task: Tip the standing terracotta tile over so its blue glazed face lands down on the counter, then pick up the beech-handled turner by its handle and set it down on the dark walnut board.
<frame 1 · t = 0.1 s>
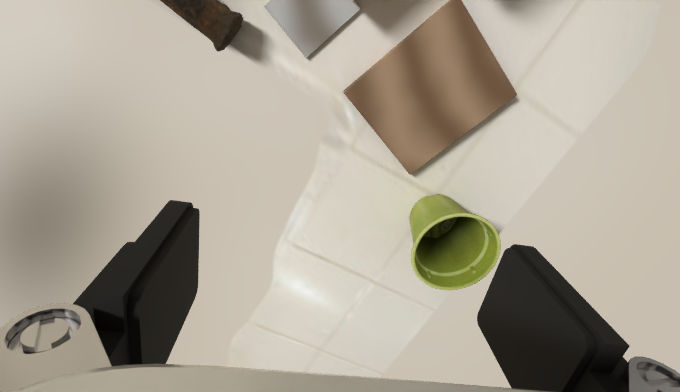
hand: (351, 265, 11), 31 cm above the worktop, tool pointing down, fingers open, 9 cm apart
plant pot: (432, 214, 47), on the worktop
board: (428, 91, 40), on the worktop
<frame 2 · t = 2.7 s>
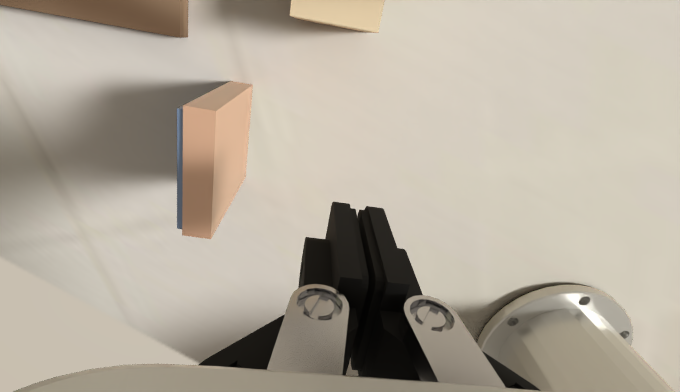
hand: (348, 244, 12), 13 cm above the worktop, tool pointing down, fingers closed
tile: (236, 131, 23), on the worktop
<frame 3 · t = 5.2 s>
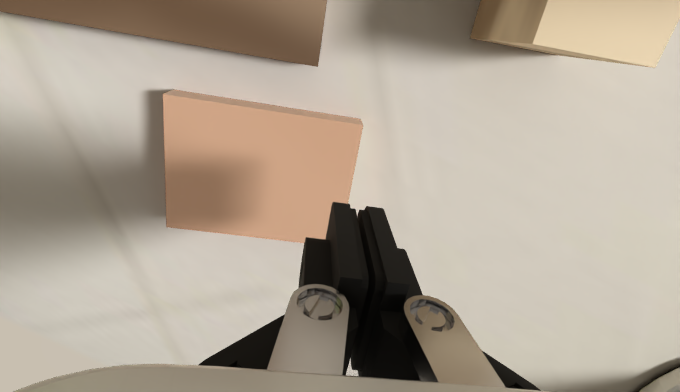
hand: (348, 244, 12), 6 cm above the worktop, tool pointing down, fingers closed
tile: (349, 183, 17), on the worktop, tilted 90°
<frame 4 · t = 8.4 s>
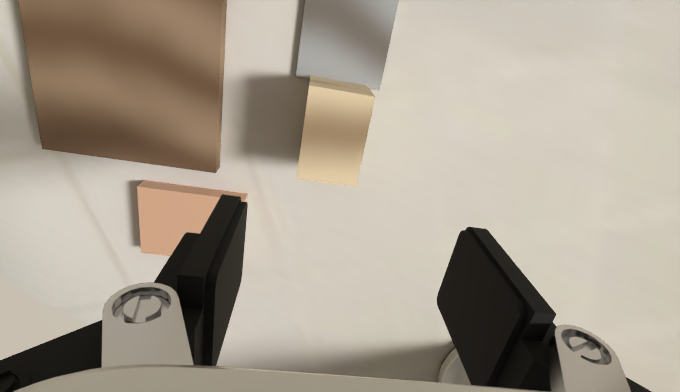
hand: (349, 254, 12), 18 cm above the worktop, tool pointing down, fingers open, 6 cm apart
tile: (244, 228, 31), on the worktop, tilted 90°
board: (133, 59, 25), on the worktop
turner: (331, 120, 28), on the worktop
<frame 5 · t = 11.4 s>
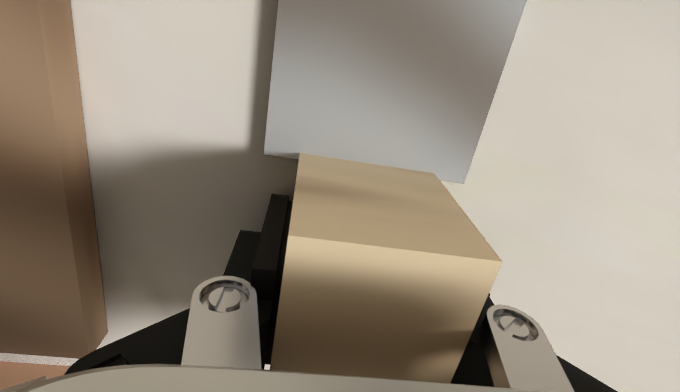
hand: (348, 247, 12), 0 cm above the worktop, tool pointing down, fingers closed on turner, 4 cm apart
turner: (348, 241, 12), on the worktop, touching gripper
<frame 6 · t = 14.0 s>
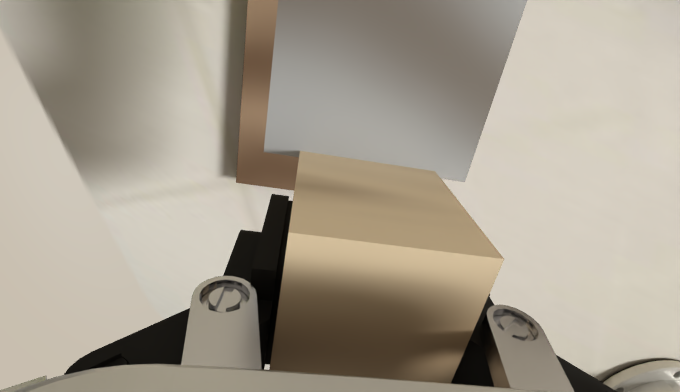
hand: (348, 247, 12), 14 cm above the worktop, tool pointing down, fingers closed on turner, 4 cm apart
board: (342, 88, 24), on the worktop
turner: (348, 240, 12), point 14 cm above the worktop, touching gripper
when the fingers open (3 cm above the worktop, at t = 16.6 s): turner drops 1 cm, resting on board.
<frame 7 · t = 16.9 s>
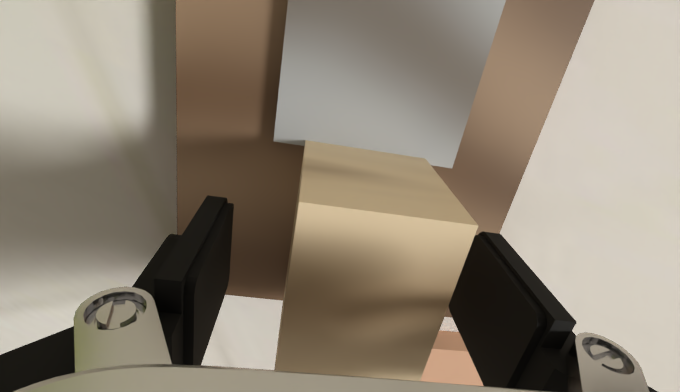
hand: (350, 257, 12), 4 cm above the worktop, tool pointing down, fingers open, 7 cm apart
tile: (474, 384, 19), on the worktop, tilted 90°
board: (357, 133, 14), on the worktop
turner: (348, 221, 14), point 1 cm above the worktop, touching board
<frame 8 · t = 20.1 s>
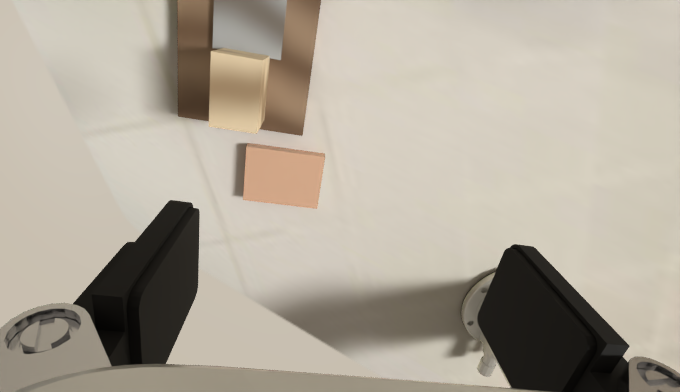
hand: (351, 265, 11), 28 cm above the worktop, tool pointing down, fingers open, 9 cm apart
tile: (320, 180, 40), on the worktop, tilted 90°
board: (248, 50, 35), on the worktop
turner: (245, 85, 35), point 1 cm above the worktop, touching board
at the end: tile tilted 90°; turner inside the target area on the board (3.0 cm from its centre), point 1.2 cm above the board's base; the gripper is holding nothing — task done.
